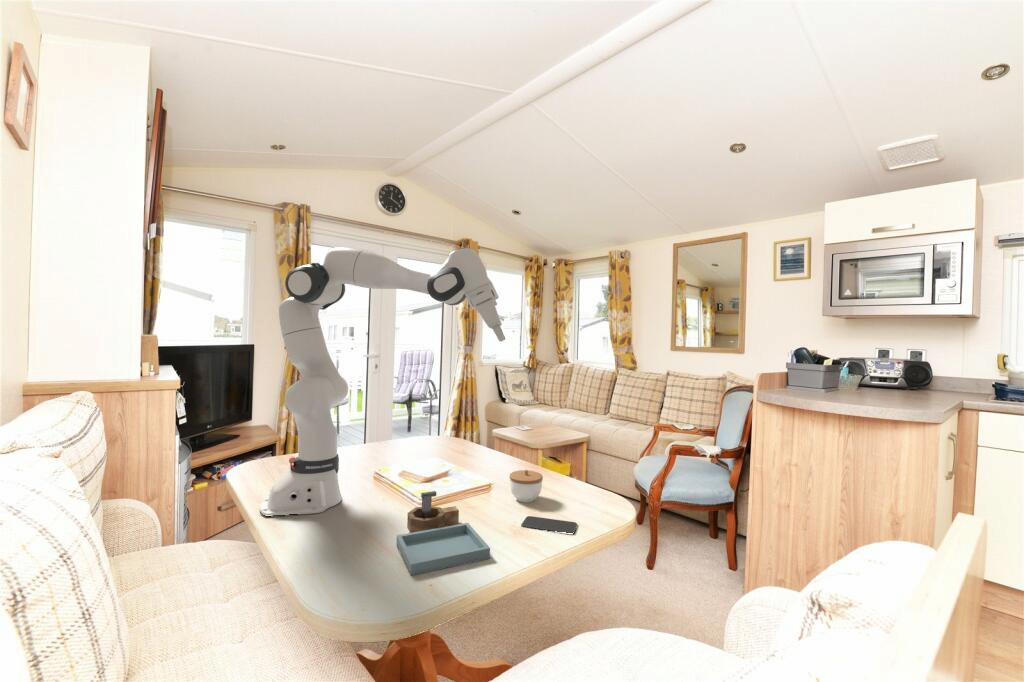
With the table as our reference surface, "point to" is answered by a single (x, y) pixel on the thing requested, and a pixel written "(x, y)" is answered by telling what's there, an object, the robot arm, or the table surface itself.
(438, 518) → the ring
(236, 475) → the table surface
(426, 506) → the stake
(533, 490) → the lidded jar
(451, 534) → the tray
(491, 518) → the table surface
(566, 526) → the smartphone
